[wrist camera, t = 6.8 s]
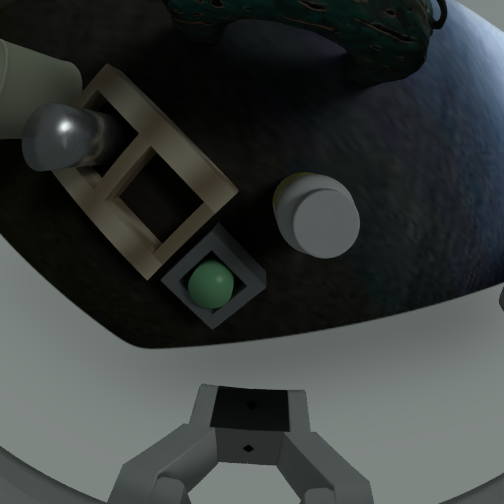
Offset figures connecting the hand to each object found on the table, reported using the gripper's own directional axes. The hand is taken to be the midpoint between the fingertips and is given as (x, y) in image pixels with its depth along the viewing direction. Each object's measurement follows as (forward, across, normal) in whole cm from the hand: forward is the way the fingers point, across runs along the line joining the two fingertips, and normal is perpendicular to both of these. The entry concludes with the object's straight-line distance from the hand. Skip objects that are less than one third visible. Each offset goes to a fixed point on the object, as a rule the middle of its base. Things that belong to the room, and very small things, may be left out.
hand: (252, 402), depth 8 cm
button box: (+19, +4, +3) cm, 20 cm away
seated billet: (+19, +15, -9) cm, 26 cm away
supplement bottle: (+20, -3, -3) cm, 20 cm away
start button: (+18, +4, +3) cm, 19 cm away
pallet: (+19, +12, -6) cm, 24 cm away
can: (+19, +24, -15) cm, 34 cm away
